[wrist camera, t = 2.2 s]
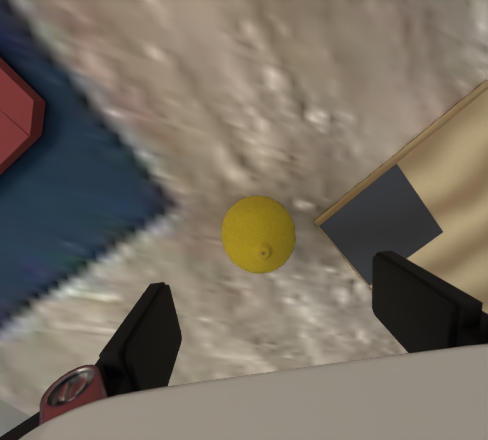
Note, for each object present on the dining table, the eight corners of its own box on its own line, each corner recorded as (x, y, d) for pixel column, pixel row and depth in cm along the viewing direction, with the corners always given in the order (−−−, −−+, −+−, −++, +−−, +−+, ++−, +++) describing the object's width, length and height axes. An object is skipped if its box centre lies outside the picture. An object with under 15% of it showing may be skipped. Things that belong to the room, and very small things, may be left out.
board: (313, 221, 22) (319, 226, 20) (486, 79, 19) (510, 72, 17) (427, 356, 26) (439, 369, 25) (579, 259, 23) (604, 267, 22)
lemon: (288, 193, 21) (318, 215, 13) (277, 249, 22) (298, 298, 14) (228, 185, 20) (222, 202, 13) (220, 242, 22) (212, 289, 14)
